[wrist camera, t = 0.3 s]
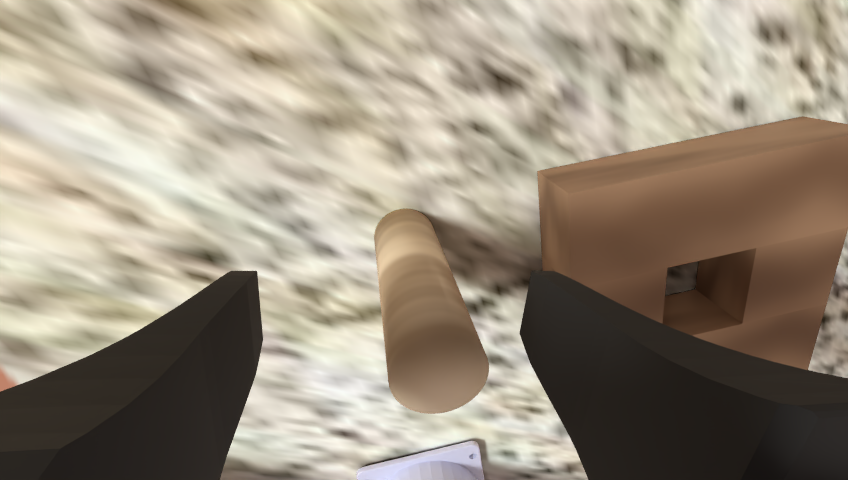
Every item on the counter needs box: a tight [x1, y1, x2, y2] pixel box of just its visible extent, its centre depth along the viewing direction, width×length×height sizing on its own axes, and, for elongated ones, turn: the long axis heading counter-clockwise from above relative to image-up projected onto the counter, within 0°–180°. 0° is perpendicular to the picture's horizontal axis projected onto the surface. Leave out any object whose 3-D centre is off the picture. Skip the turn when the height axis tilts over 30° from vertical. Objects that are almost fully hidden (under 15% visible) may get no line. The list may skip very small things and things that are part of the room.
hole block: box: [537, 117, 848, 370], centre depth 23 cm, size 14×14×4 cm
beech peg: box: [374, 209, 489, 414], centre depth 17 cm, size 3×3×10 cm
